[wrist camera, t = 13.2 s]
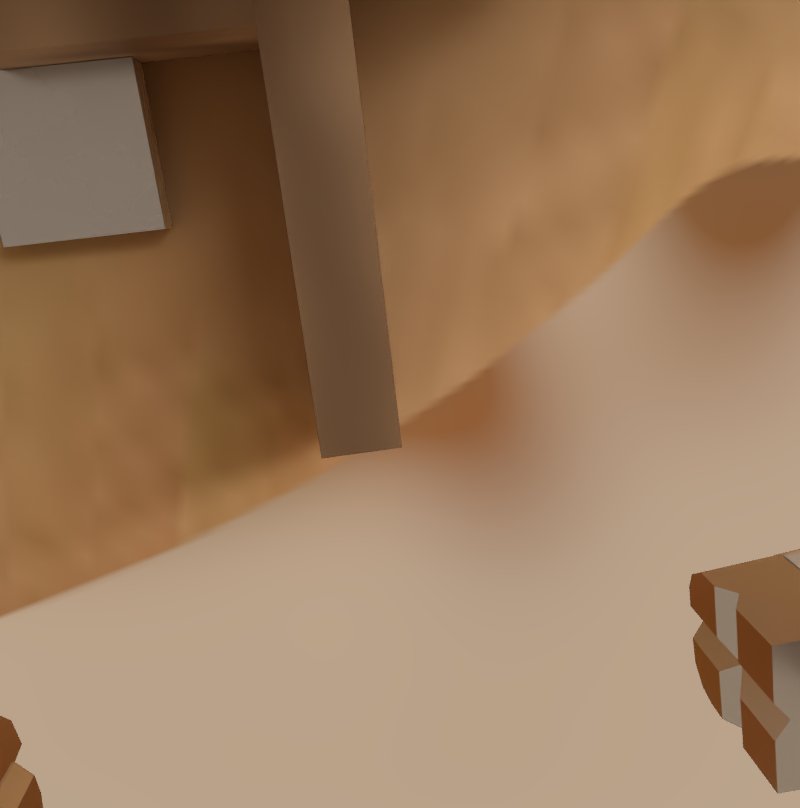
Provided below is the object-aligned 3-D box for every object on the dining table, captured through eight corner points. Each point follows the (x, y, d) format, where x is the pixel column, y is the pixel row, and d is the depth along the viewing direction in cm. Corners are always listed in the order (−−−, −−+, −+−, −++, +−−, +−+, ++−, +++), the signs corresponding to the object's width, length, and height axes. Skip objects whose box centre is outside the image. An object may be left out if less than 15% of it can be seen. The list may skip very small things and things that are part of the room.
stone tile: (145, 65, 23) (131, 56, 22) (175, 226, 25) (165, 229, 23) (-16, 82, 23) (-41, 74, 22) (24, 244, 25) (3, 247, 23)
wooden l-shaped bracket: (336, -30, 23) (337, -89, 18) (388, 402, 27) (401, 447, 22) (0, 4, 22) (-90, -48, 18) (103, 440, 26) (53, 495, 21)
